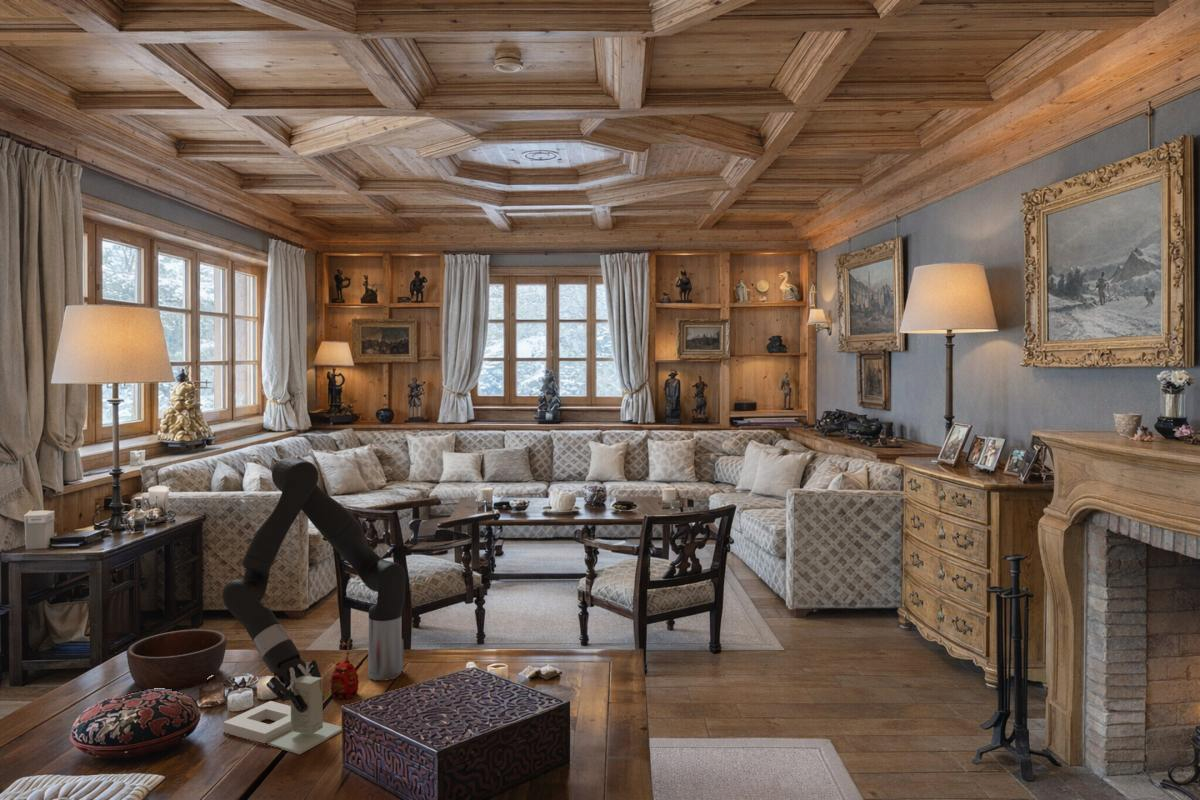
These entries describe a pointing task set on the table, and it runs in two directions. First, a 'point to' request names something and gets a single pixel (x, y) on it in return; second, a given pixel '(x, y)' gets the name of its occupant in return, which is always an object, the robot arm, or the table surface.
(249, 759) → the table surface
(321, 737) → the green tile
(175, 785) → the table surface
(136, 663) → the wooden bowl
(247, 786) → the table surface
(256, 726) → the holder block
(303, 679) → the skincare box
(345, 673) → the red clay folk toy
